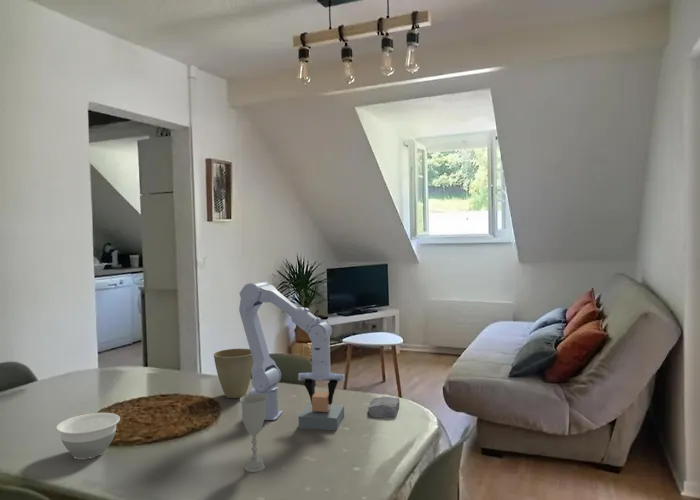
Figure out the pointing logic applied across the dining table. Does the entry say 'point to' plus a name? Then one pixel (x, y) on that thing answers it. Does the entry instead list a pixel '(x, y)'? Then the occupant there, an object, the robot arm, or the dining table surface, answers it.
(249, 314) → the robot arm
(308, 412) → the slate box
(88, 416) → the bowl
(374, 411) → the stone block
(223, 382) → the plant pot
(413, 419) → the dining table surface
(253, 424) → the chalice
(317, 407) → the terracotta block
